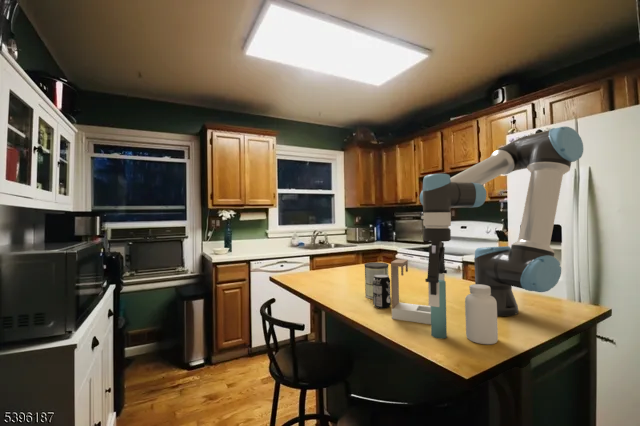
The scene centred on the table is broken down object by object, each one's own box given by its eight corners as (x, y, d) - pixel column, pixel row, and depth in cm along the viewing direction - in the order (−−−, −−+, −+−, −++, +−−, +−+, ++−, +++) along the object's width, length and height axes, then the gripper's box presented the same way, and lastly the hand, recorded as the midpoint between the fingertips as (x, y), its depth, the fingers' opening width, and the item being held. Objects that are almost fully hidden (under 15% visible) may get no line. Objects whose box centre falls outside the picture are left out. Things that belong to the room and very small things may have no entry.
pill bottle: (460, 334, 89) (459, 283, 89) (486, 333, 90) (485, 282, 90) (476, 346, 81) (475, 290, 81) (504, 344, 82) (503, 289, 82)
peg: (447, 334, 89) (446, 280, 89) (445, 339, 86) (444, 283, 86) (432, 332, 91) (431, 278, 91) (430, 337, 88) (429, 281, 88)
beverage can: (389, 304, 120) (388, 273, 120) (391, 309, 114) (391, 277, 114) (372, 303, 121) (372, 273, 121) (374, 308, 114) (373, 277, 114)
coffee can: (362, 294, 136) (361, 262, 136) (383, 292, 138) (383, 261, 138) (369, 300, 126) (369, 266, 126) (393, 298, 127) (392, 265, 127)
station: (438, 317, 104) (437, 261, 104) (435, 325, 97) (434, 265, 97) (397, 311, 110) (396, 259, 111) (391, 318, 103) (390, 262, 104)
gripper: (429, 225, 101) (429, 289, 101) (415, 228, 79) (415, 309, 79) (453, 226, 98) (454, 291, 98) (446, 229, 76) (446, 314, 76)
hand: (437, 300), depth 88 cm, fingers open, 13 cm apart
